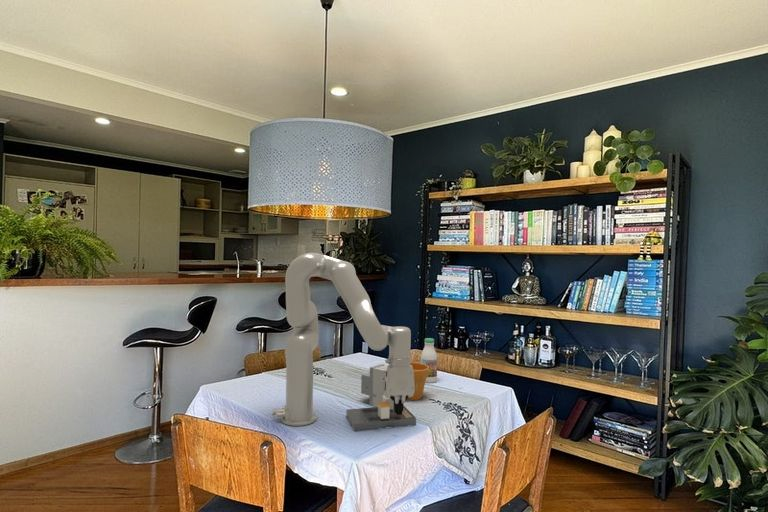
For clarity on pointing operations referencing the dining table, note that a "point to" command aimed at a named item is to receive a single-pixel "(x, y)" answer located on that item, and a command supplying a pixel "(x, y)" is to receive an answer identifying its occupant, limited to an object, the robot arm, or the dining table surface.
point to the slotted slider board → (378, 418)
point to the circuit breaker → (374, 384)
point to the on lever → (388, 402)
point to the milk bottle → (430, 360)
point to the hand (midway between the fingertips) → (398, 413)
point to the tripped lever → (383, 410)
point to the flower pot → (419, 379)
